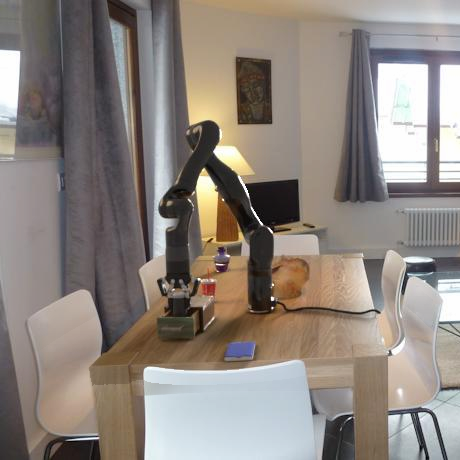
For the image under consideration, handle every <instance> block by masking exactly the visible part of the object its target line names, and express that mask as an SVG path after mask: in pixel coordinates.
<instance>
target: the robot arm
mask: <svg viewBox="0 0 460 460" xmlns="http://www.w3.org/2000/svg"><path fill="white" fill-rule="evenodd" d="M184 138H185V141H186V143H187V145H188V146H189V148H190V150H191V151H192V152H191V154H189V156H188V157H187V158H186V159H185V161H184V162H183V163H182V164H181V165H180V167H179V169H178V170H177V173H176V176H175V178H174V180H173V183H172V185H171V186H170V187H169V188H168V190H166V192H165V193H164V195H162V197H161V198H160V200H159V202H158V206H157V211H158V214H159V216H160V217H161V218H163V219H166V220H178V221H177V224H176V225H172V226H167V227H166V228H165V231H164V233H165V234H164V237H165V251H164V252H165V253H164V254H165V276H164V277H159V278H158V279H157V280H156V284H157V287H158V289H159V292H160V295H161V297H165V298H167V304H168V307H170V309H173V302H172V294H173V293H175V291H176V289H180V290H182V292H184V293H185V296H186V298H185V306H186V309H189V307H190V306H191V297H194V296H195V295H197V294H198V292H199V287H200V284H201V282H200V281H201V280H202V278H200V277H193V275H192V273H191V272H192V271H191V250H190V241H189V240H190V239H189V232H190V231H189V230H190V225H191V221H192V217H193V214H194V205H193V202H192V201H191V200H190V199H189V198H191V197H192V196H193V195H194V194H195V191H196V188H197V185H198V183H199V180H200V178H201V175H202V173H203V171H204V170H205V172H206V173H207V175H208V176H209V178H210V180H211V181H212V183H213V185H214V187H215V189H216V190H217V192H218V194H219V196H220V199H222V201H223V203H224V204H225V205H226V207H227V209H228V211H230V213H231V215H232V216H233V217H234V219H235V221H236V223H237V225H238V227H239V230H240V232H241V235H242V236H243V239H244V241H245V243H246V245H248V246H249V251H248V252H249V255H248V256H249V257H248V259H247V260H246V276H247V277H246V281H247V282H246V284H247V286H246V287H247V303H246V308H247V312H248V313H250V314H259V315H260V314H267V313H272V312H273V311H274V308H277V306H278V305H280V306H282V307H283V310H284V311H285V312H299V311H303V310H317V311H319V310H320V311H328V312H335V313H341V314H347V315H357V316H359V315H366V314H368V313H372V312H373V313H377V314H379V315H381V314H382V312H381V311H379V310H378V309H376V308H371V309H367V310H364V311H350V310H344V309H336V308H331V307H324V306H301V307H297V308H293V309H291V308H287V305H286V304H285V303H284V302H282V301H280V300H279V297H278V296H275V295H274V293H275V289H274V284H273V261H274V257H275V236H274V232H273V231H272V230H271V228H270V227H268V226H266V225H264V224H263V223H262V222H261V221H260V219H259V217H258V216H257V214H256V212H255V211H254V209H253V207H252V203H251V199H250V195H249V193H248V190H247V188H246V186H245V184H244V183H243V181H242V179H241V177H240V175H239V173H237V172H236V171H235V170H234V169H232V167H230V166H228V165H227V164H226V163H225V162H223V161H222V160H220V158H219V157H218V156H217V154H216V153H215V150H216V148H217V146H218V145H219V143H220V141H221V138H222V131H221V127H220V126H219V124H218V123H217V122H216V121H214V120H212V119H206V120H201V121H199V122H196V123H193V124H191V125H188V126H187V127H186V128H185V130H184ZM191 282H192V283H191ZM166 283H167V284H168V285H169V287H168V290H167V287H166V286H167V285H166ZM190 283H191V284H192V285H193V286H192V290H191V287H190Z"/></svg>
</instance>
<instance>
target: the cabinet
mask: <svg viewBox="0 0 460 460" xmlns="http://www.w3.org/2000/svg"><path fill="white" fill-rule="evenodd" d="M163 310H164V311H163V312H164V314H165V313H166V312H168V311H169V310H173V309H170V307H168V303H167V304H166V305H165V306H164V308H163ZM187 310H200V315H201V327H200V328H199V329H198V331H197V332H196V333H204V332H205V331H206V330H207V329H208V328H209V326H210V325H211V324H212V323H213V321H214V320H215V319H216V318H215V303H214V296H203V295H197V294H196V295H195V296H194V297H191V306H190V307H189V309H187Z"/></svg>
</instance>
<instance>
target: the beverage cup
mask: <svg viewBox="0 0 460 460" xmlns="http://www.w3.org/2000/svg"><path fill="white" fill-rule="evenodd" d="M217 281H218V280H217V279H216V278H210V268H209V267H207V278H202V279H201V280H200V284H201V285H200V287H201V294H202V295H201V296H214V304H215V303H216V300H217V299H216V297H217V296H216V295H217Z"/></svg>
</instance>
